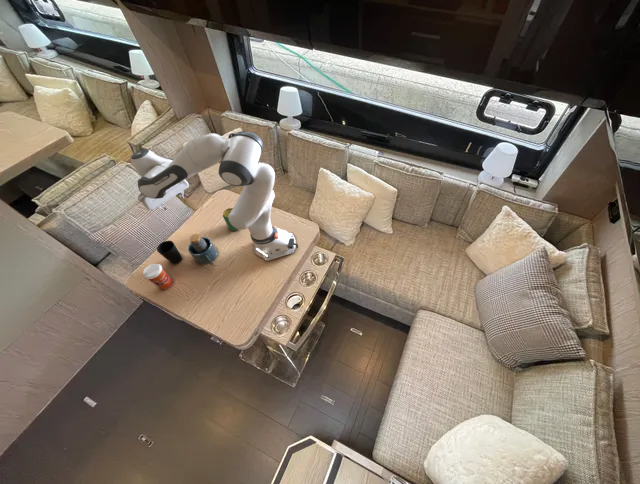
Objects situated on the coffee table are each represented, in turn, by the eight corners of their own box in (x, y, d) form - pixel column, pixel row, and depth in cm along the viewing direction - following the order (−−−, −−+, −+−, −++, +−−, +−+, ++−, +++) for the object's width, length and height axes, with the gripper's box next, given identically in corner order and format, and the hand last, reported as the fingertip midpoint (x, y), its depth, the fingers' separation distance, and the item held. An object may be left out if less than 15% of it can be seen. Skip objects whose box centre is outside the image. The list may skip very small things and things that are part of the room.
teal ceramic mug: (192, 254, 148) (184, 244, 141) (212, 243, 153) (206, 233, 146) (203, 272, 142) (196, 263, 135) (224, 260, 147) (218, 251, 140)
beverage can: (244, 220, 165) (238, 206, 155) (242, 230, 160) (236, 217, 150) (230, 221, 164) (223, 207, 155) (227, 231, 159) (220, 218, 150)
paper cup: (164, 294, 133) (148, 280, 123) (154, 286, 136) (138, 272, 125) (178, 281, 138) (164, 267, 127) (168, 274, 140) (154, 259, 130)
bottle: (209, 258, 146) (198, 242, 135) (198, 258, 146) (186, 242, 134) (213, 249, 150) (202, 233, 138) (202, 249, 150) (191, 232, 138)
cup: (178, 267, 143) (167, 254, 134) (165, 264, 144) (153, 251, 135) (187, 254, 148) (177, 242, 139) (174, 252, 149) (163, 239, 139)
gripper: (140, 199, 115) (157, 220, 125) (184, 173, 126) (196, 194, 137) (131, 193, 117) (148, 214, 127) (175, 167, 128) (187, 189, 139)
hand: (173, 203), depth 132 cm, fingers open, 8 cm apart
